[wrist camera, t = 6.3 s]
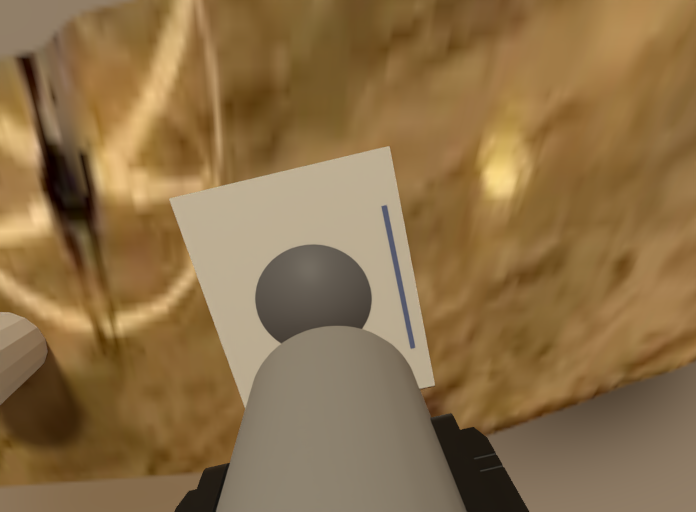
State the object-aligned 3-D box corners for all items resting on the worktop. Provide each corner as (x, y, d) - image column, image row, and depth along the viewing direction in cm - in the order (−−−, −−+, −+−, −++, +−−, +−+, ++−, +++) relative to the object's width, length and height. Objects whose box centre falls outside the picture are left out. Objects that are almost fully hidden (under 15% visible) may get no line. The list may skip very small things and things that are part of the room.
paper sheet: (388, 146, 27) (389, 146, 27) (433, 383, 33) (435, 386, 32) (170, 198, 27) (168, 198, 27) (252, 424, 33) (251, 427, 33)
